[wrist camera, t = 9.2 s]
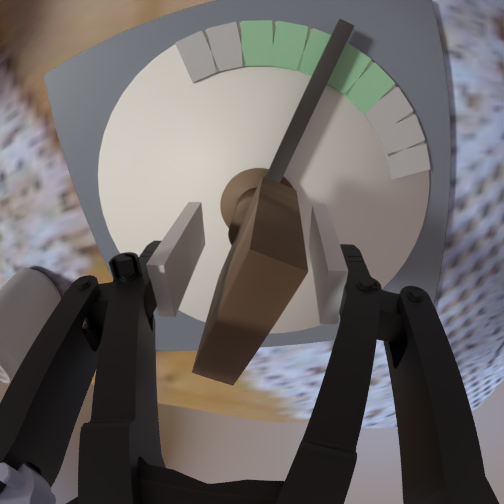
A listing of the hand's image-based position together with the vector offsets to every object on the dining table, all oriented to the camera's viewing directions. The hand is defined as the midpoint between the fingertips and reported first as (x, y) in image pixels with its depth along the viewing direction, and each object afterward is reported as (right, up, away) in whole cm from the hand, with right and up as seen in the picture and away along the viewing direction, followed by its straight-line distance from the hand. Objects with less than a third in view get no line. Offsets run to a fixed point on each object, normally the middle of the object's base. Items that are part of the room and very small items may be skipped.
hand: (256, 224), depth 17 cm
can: (-25, -6, +11) cm, 28 cm away
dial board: (0, +2, +4) cm, 5 cm away
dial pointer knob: (+2, +5, 0) cm, 6 cm away
